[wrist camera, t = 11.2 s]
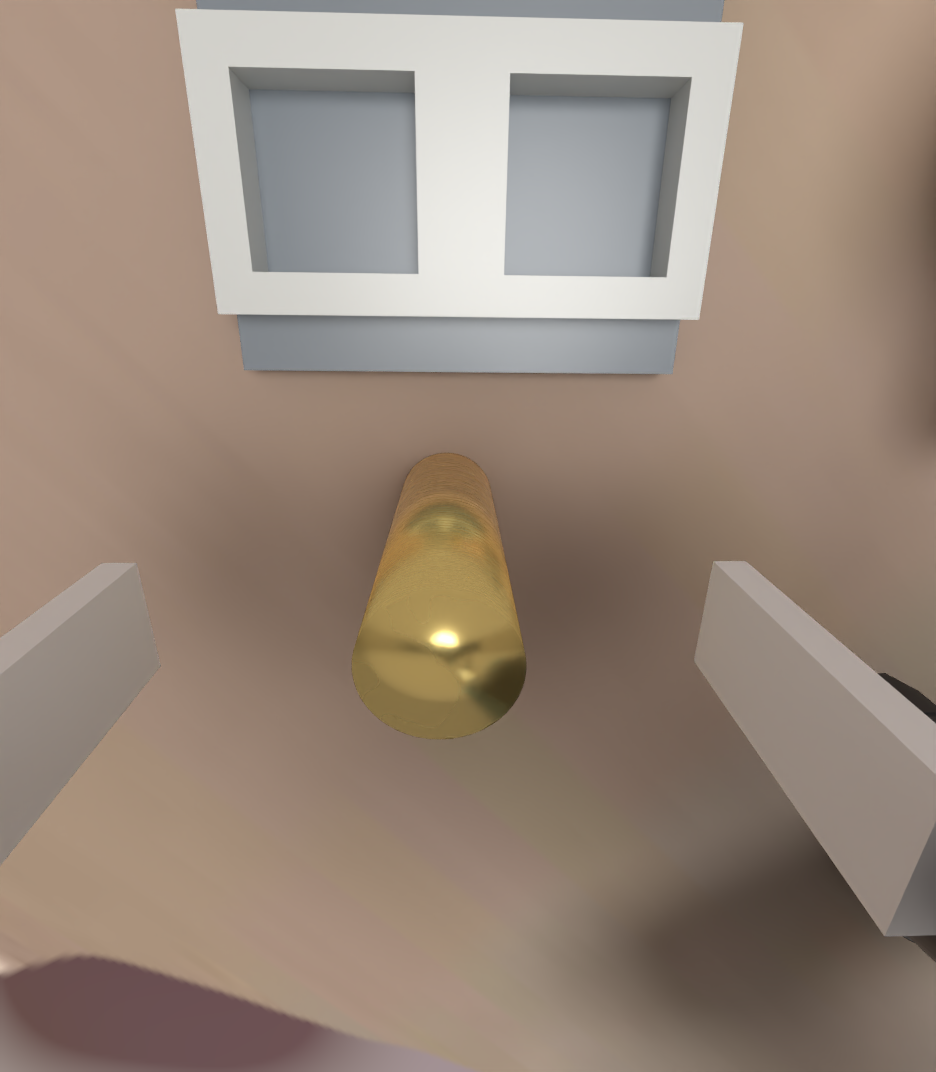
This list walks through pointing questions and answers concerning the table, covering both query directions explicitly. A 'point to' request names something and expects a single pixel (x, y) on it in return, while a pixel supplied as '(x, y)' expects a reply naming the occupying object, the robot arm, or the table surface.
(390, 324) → the board
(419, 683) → the peg
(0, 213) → the table surface
